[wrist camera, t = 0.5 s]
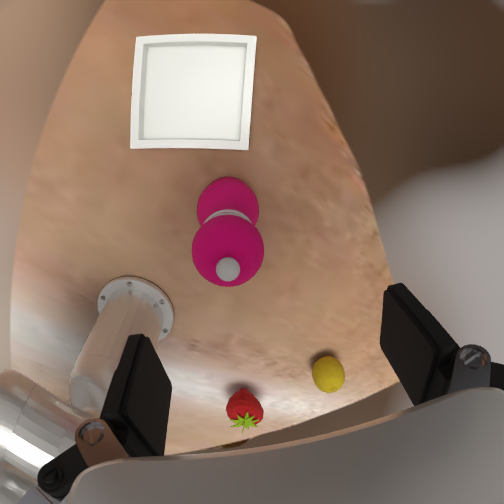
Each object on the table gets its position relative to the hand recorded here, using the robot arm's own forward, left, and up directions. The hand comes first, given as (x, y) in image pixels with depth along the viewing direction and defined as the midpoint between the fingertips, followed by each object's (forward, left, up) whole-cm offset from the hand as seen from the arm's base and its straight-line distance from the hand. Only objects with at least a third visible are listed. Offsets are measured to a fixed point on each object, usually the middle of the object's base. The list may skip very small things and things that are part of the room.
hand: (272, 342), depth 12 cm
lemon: (-31, -17, -31) cm, 47 cm away
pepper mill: (-3, +1, -31) cm, 31 cm away
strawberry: (-39, -3, -31) cm, 50 cm away
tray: (+11, +6, -31) cm, 33 cm away
